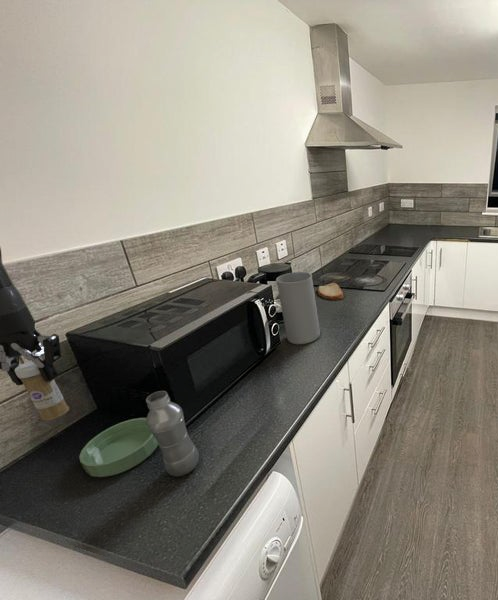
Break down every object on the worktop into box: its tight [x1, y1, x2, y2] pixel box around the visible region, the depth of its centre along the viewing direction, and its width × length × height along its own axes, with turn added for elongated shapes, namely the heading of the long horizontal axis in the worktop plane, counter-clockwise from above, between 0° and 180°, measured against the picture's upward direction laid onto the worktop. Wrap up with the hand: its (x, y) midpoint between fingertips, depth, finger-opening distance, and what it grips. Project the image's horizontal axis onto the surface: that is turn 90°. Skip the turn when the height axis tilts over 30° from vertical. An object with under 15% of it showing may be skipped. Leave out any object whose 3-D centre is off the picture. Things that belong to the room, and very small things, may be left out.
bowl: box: [78, 417, 159, 478], centre depth 76 cm, size 14×14×4 cm
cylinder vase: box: [275, 271, 321, 345], centre depth 122 cm, size 12×12×25 cm
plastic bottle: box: [145, 390, 200, 477], centre depth 69 cm, size 6×7×20 cm
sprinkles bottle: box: [15, 360, 70, 421], centre depth 71 cm, size 5×5×14 cm
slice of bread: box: [317, 282, 345, 301], centre depth 170 cm, size 18×18×4 cm
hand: (37, 380), depth 70 cm, fingers closed on sprinkles bottle, 4 cm apart
